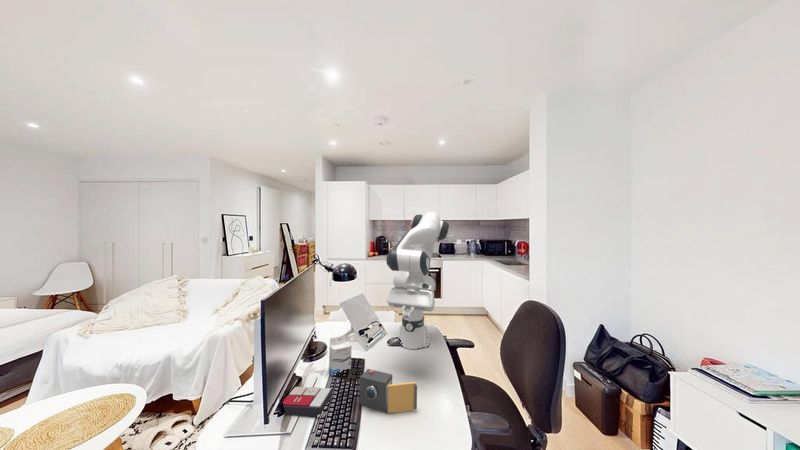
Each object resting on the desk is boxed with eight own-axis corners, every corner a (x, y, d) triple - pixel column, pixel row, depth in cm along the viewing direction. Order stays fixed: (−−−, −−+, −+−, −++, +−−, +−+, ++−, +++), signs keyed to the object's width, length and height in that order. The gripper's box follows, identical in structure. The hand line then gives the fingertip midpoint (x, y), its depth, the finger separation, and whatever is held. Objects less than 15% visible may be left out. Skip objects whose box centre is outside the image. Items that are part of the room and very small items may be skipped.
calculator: (294, 385, 101) (332, 386, 99) (295, 396, 101) (333, 398, 99) (278, 404, 90) (320, 405, 88) (278, 417, 90) (320, 419, 88)
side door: (415, 407, 93) (415, 381, 93) (416, 410, 92) (417, 384, 92) (385, 411, 91) (385, 384, 91) (385, 414, 90) (386, 387, 90)
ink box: (332, 377, 112) (333, 342, 112) (328, 372, 116) (329, 338, 117) (351, 371, 117) (352, 338, 117) (347, 366, 121) (347, 334, 121)
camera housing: (367, 395, 100) (368, 367, 101) (391, 402, 97) (392, 372, 97) (357, 407, 93) (358, 377, 94) (383, 415, 90) (383, 383, 90)
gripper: (390, 282, 118) (380, 310, 109) (435, 286, 111) (429, 316, 102) (394, 290, 123) (385, 317, 113) (437, 294, 115) (431, 324, 106)
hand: (406, 317), depth 107 cm, fingers closed
